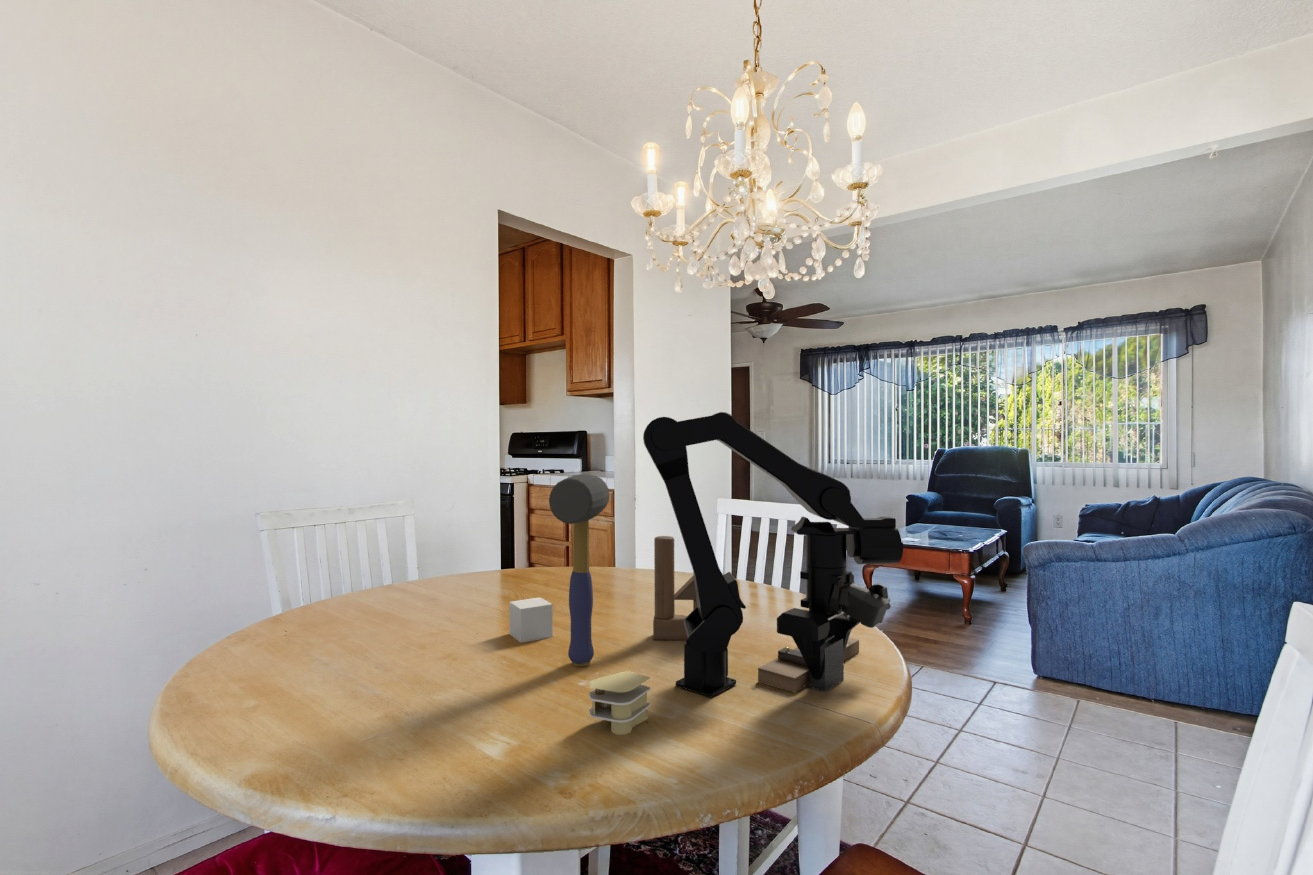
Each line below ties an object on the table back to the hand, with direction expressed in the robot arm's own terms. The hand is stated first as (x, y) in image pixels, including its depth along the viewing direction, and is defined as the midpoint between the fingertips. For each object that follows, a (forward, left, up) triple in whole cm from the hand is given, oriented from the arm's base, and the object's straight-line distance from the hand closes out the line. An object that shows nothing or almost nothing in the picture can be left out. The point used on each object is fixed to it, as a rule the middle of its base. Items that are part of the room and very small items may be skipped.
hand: (826, 672), depth 88 cm
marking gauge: (0, +3, -2) cm, 3 cm away
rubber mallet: (-18, +33, -2) cm, 38 cm away
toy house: (-29, +14, -2) cm, 32 cm away
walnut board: (+5, +5, -2) cm, 7 cm away
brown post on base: (+3, +29, -2) cm, 29 cm away
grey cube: (-14, +51, -2) cm, 53 cm away
